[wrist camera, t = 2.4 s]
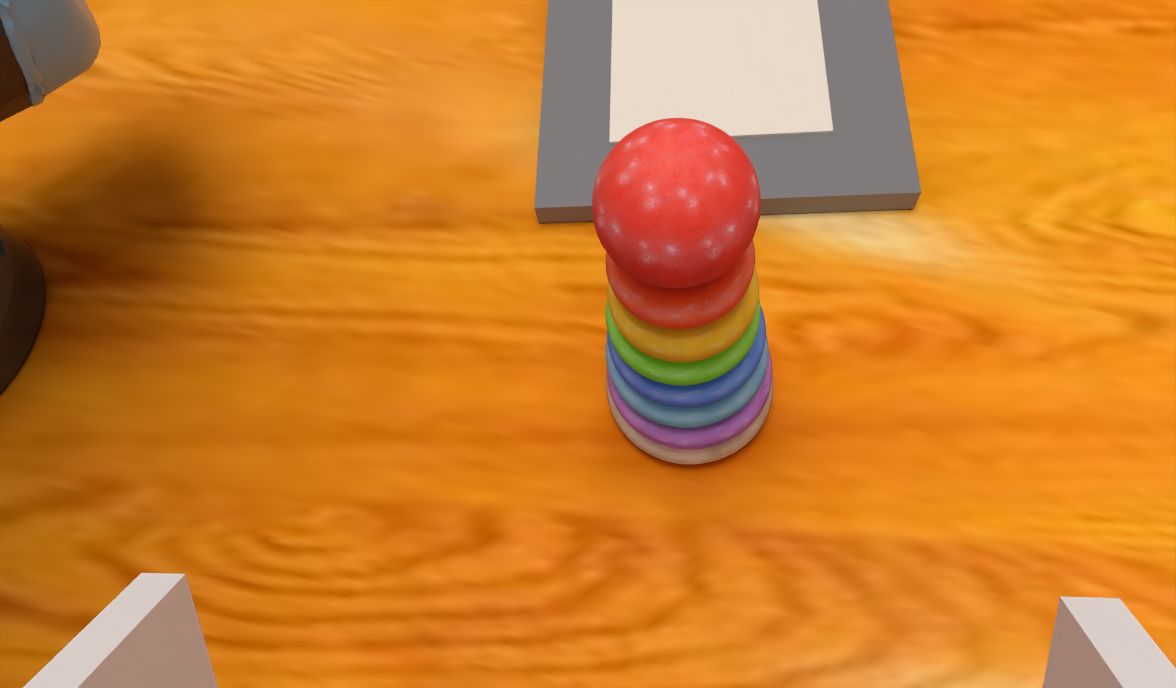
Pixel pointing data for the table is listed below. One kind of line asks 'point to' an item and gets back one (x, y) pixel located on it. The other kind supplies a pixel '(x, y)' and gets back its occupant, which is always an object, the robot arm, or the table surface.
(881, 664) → the table surface
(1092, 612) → the robot arm
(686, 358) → the stacking toy
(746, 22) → the plate
